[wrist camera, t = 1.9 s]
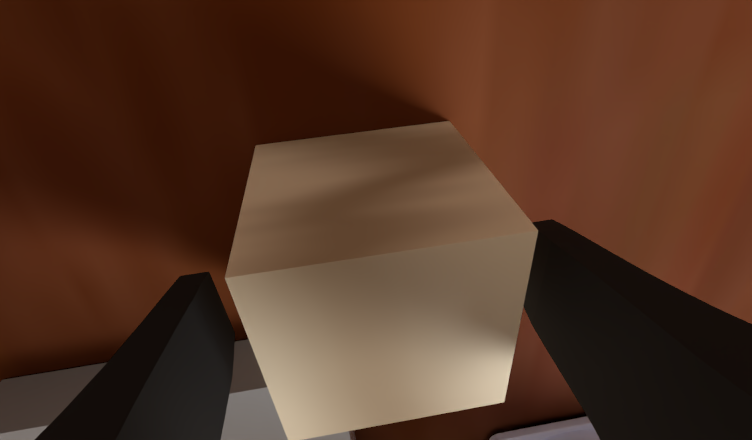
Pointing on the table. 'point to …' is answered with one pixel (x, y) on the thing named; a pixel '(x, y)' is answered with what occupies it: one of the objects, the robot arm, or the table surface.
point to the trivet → (58, 388)
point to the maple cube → (379, 277)
